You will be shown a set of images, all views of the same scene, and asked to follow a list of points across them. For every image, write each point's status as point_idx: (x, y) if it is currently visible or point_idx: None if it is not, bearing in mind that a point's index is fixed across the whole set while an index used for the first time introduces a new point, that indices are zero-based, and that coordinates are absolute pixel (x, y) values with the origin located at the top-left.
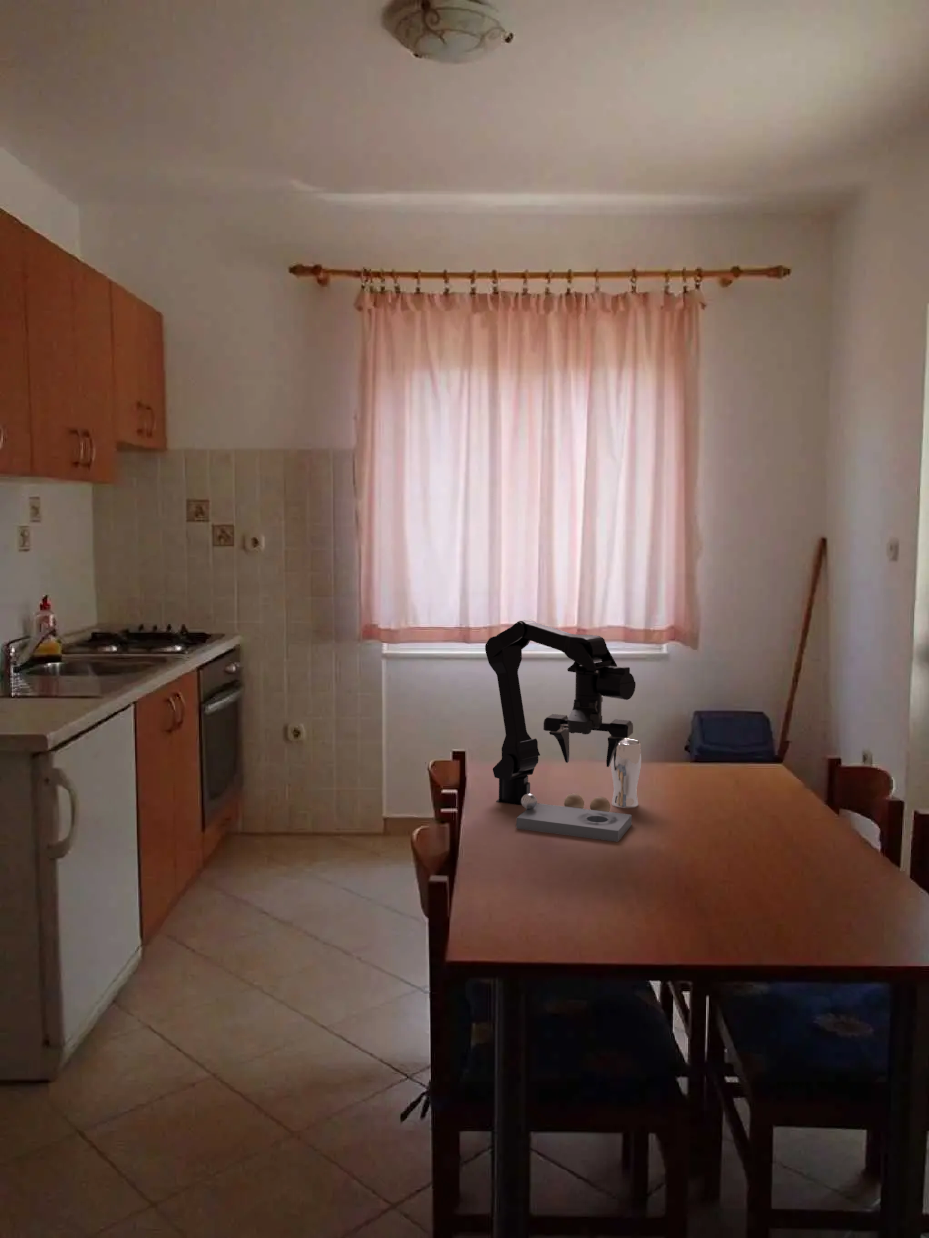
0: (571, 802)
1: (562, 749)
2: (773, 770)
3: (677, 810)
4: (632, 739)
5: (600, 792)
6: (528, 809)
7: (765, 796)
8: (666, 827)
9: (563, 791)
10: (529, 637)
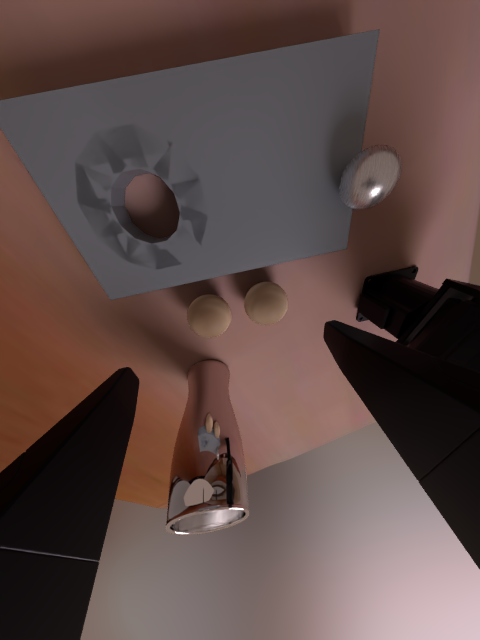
0: (266, 288)
1: (412, 353)
2: (153, 504)
3: None
4: (208, 531)
5: (266, 394)
6: None
7: None
8: (66, 321)
9: (314, 372)
10: None
